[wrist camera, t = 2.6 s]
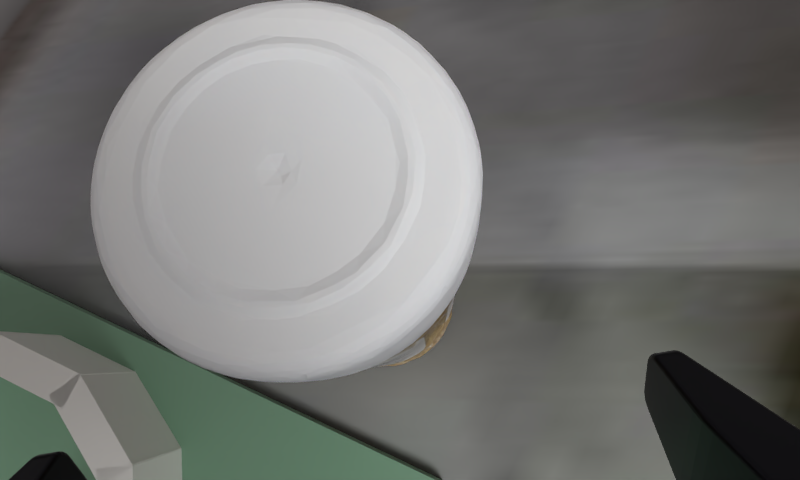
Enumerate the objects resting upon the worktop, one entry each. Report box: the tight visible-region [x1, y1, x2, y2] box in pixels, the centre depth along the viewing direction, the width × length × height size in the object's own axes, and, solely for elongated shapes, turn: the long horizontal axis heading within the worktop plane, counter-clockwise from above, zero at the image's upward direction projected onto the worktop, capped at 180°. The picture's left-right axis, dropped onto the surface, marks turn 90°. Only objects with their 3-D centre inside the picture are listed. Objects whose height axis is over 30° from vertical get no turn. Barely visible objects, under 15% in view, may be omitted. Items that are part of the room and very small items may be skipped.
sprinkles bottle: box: [91, 0, 483, 382], centre depth 13 cm, size 5×5×14 cm
